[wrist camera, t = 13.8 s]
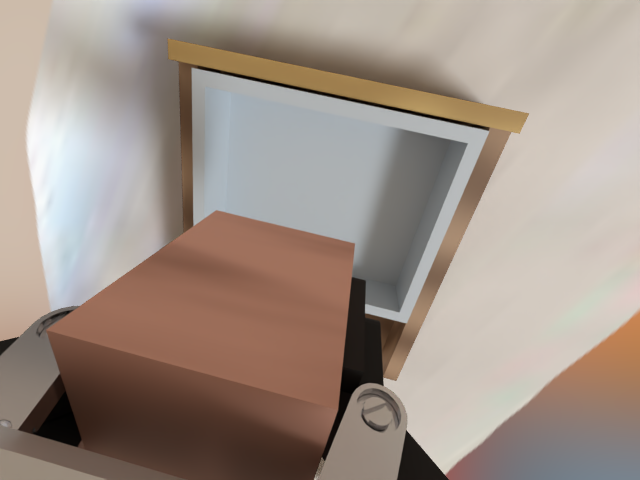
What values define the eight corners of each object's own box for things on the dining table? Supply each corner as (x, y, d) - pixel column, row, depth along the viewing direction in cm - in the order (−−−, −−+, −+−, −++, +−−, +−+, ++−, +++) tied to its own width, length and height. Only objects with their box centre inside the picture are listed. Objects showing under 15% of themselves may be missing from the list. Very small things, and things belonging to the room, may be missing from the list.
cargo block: (326, 346, 12) (292, 539, 7) (213, 317, 12) (95, 480, 7) (355, 243, 10) (338, 409, 5) (216, 210, 10) (45, 330, 5)
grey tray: (401, 290, 25) (406, 323, 21) (219, 245, 26) (194, 269, 22) (465, 125, 19) (489, 131, 15) (225, 74, 20) (191, 67, 16)
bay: (391, 350, 30) (395, 394, 25) (207, 302, 31) (180, 336, 26) (492, 111, 19) (528, 113, 15) (211, 52, 21) (167, 38, 16)
